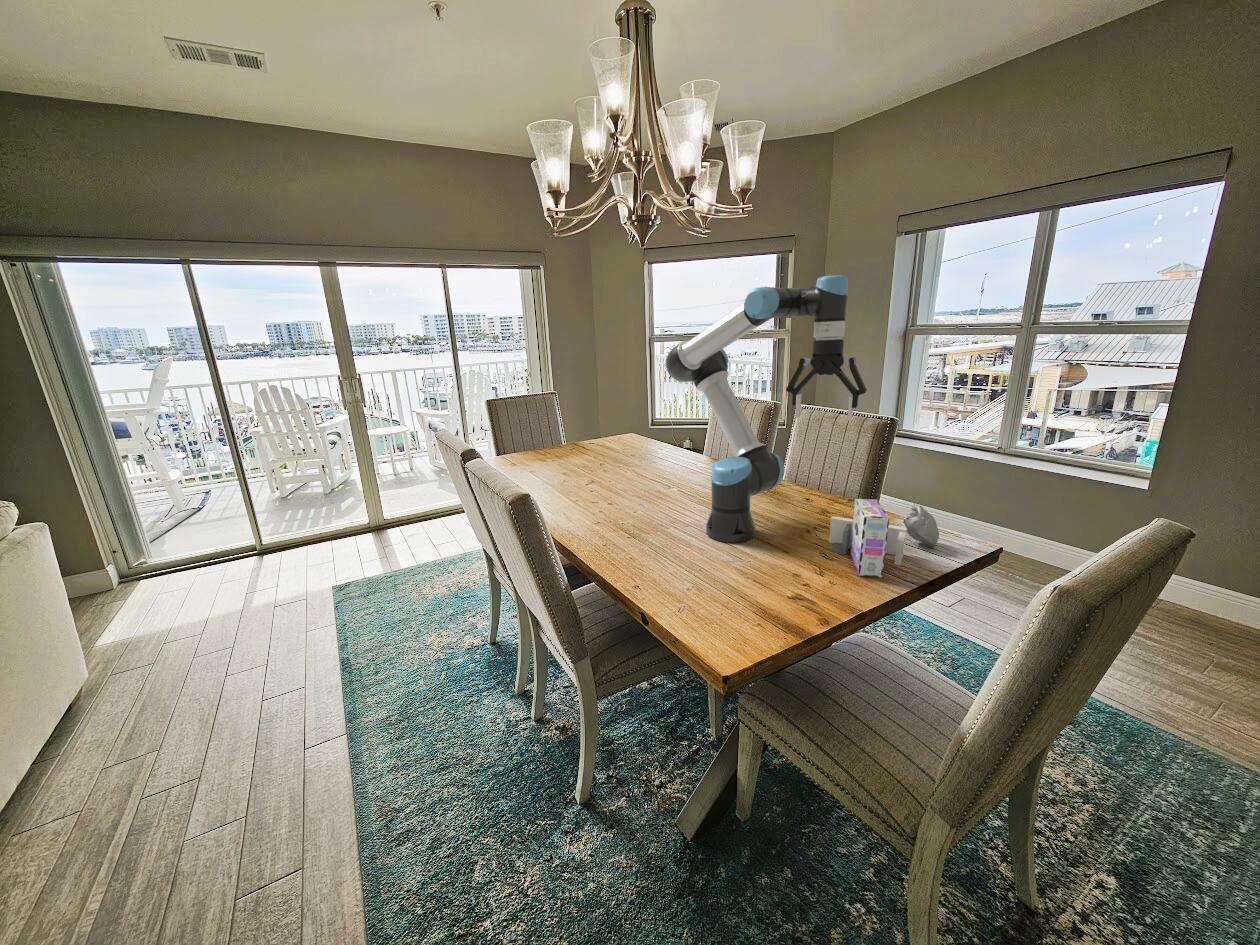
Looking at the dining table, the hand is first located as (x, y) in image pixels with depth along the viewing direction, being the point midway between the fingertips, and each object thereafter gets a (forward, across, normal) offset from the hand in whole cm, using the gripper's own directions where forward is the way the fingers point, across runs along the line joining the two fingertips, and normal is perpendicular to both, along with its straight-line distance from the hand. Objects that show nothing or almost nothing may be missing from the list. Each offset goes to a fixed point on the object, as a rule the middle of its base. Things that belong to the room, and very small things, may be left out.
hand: (822, 418), depth 132 cm
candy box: (+37, +15, -9) cm, 41 cm away
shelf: (+37, +14, -2) cm, 39 cm away
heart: (+37, +27, +10) cm, 47 cm away
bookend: (+37, +7, -2) cm, 38 cm away
